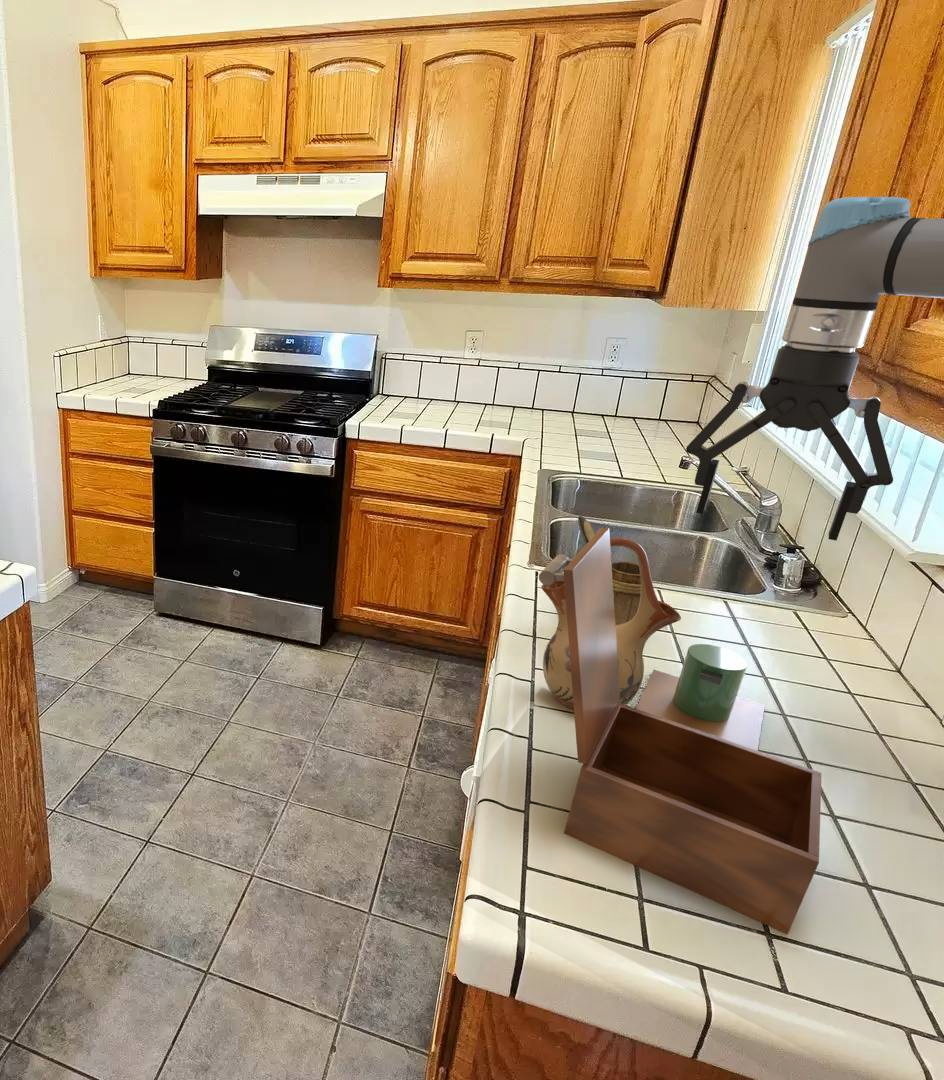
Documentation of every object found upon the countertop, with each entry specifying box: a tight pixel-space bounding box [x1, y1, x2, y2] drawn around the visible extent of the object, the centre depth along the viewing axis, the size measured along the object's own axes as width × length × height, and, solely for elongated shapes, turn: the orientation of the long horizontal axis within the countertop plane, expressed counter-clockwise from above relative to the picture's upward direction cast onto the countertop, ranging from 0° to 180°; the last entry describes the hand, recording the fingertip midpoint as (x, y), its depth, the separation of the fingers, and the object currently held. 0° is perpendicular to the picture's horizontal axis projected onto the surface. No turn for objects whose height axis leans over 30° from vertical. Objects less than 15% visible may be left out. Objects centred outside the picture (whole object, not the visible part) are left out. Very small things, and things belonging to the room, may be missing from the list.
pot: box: [673, 643, 748, 722], centre depth 102 cm, size 7×10×8 cm
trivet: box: [635, 669, 766, 751], centre depth 103 cm, size 14×14×1 cm
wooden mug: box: [577, 515, 641, 625], centre depth 123 cm, size 9×14×18 cm, turn 55°
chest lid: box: [538, 527, 620, 764], centre depth 81 cm, size 20×16×5 cm
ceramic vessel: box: [540, 537, 682, 710], centre depth 98 cm, size 16×9×25 cm, turn 61°
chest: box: [563, 702, 822, 935], centre depth 78 cm, size 20×16×9 cm
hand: (763, 523), depth 93 cm, fingers open, 13 cm apart
